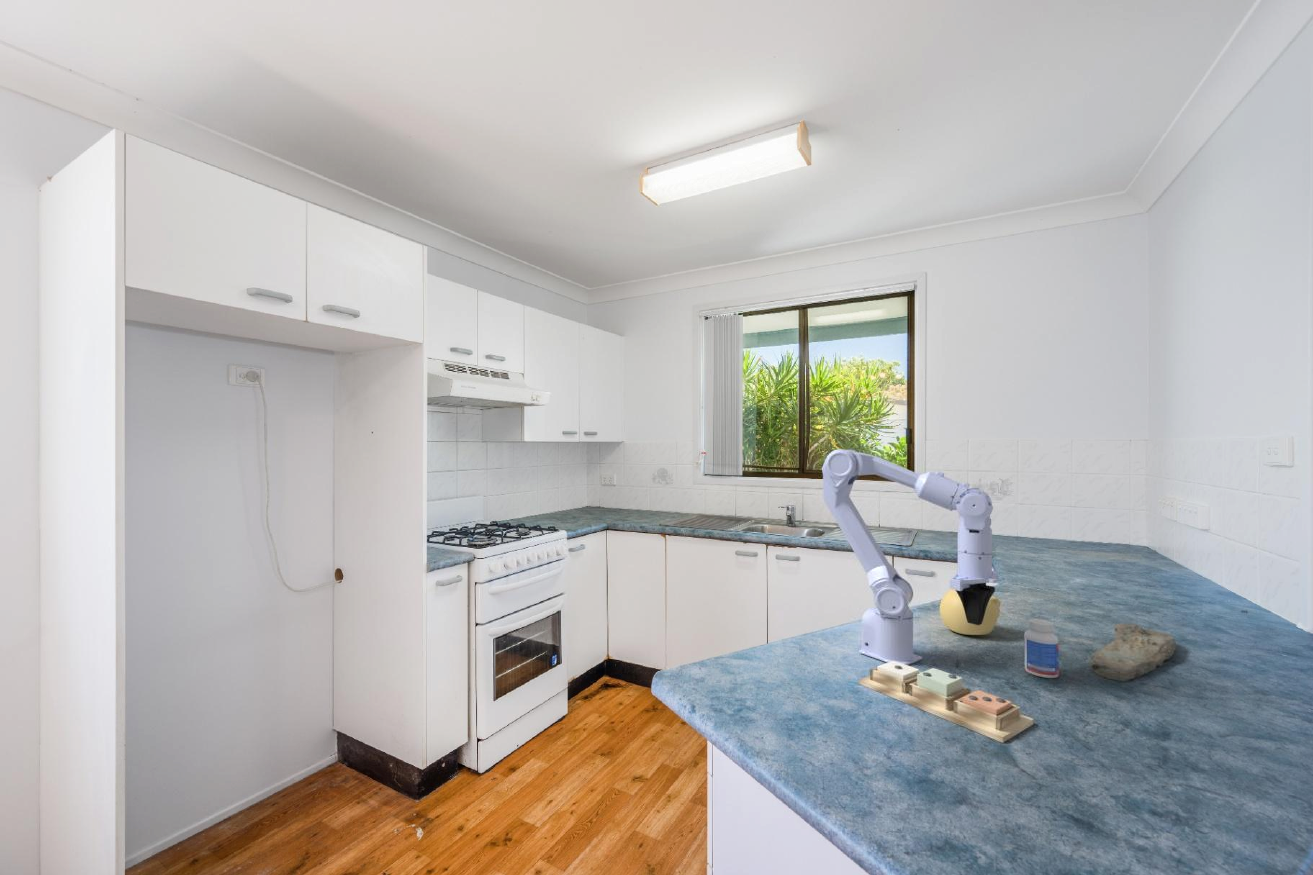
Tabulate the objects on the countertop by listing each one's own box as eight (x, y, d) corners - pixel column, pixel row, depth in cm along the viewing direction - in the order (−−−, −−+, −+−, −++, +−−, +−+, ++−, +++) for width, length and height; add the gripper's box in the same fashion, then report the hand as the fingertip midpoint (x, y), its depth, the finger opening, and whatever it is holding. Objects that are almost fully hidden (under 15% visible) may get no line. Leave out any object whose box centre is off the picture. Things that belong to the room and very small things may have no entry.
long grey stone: (1073, 677, 108) (1139, 699, 100) (1074, 651, 107) (1140, 670, 99) (1127, 634, 128) (1186, 649, 120) (1129, 611, 128) (1187, 625, 120)
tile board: (859, 683, 100) (859, 669, 100) (891, 671, 105) (891, 657, 105) (1002, 742, 80) (1002, 724, 80) (1033, 724, 86) (1033, 707, 86)
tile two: (917, 688, 93) (917, 672, 93) (933, 681, 96) (933, 666, 96) (946, 699, 89) (946, 683, 89) (962, 692, 92) (962, 676, 92)
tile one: (877, 679, 99) (877, 664, 100) (893, 673, 102) (893, 659, 102) (903, 689, 95) (903, 674, 95) (919, 683, 98) (919, 668, 98)
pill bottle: (1064, 680, 102) (1064, 627, 103) (1032, 677, 103) (1032, 625, 104) (1050, 668, 108) (1049, 618, 108) (1019, 666, 109) (1019, 616, 109)
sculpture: (1007, 635, 128) (1007, 588, 128) (978, 643, 121) (978, 594, 122) (958, 621, 137) (958, 578, 138) (929, 629, 131) (929, 583, 132)
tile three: (962, 712, 87) (962, 696, 87) (978, 704, 90) (978, 688, 90) (996, 726, 83) (996, 708, 83) (1011, 717, 86) (1011, 700, 86)
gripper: (977, 559, 98) (977, 636, 98) (1014, 551, 107) (1015, 622, 106) (938, 552, 104) (938, 625, 104) (976, 546, 112) (976, 613, 112)
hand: (974, 623), depth 105 cm, fingers closed
